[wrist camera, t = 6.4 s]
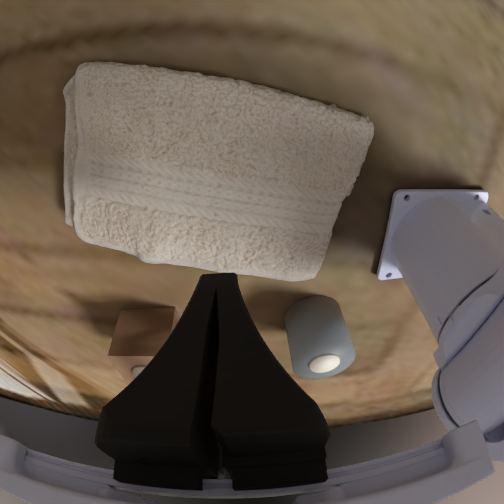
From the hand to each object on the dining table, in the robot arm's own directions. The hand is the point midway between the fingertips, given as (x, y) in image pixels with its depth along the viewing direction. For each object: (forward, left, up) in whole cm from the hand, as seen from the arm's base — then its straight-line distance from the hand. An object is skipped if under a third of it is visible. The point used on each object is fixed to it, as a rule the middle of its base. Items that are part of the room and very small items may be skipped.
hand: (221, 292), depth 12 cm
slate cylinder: (-6, +12, -9) cm, 16 cm away
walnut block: (+8, +12, -9) cm, 17 cm away
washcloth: (+1, -2, -9) cm, 10 cm away
